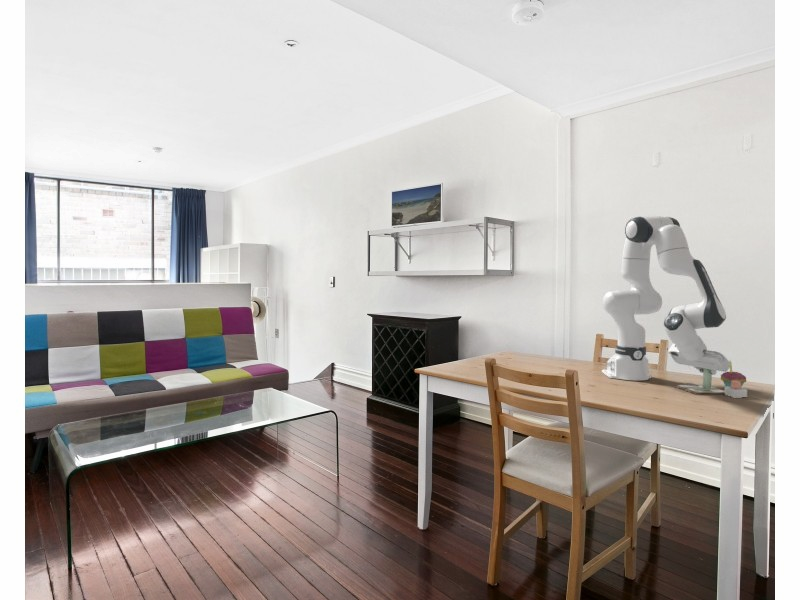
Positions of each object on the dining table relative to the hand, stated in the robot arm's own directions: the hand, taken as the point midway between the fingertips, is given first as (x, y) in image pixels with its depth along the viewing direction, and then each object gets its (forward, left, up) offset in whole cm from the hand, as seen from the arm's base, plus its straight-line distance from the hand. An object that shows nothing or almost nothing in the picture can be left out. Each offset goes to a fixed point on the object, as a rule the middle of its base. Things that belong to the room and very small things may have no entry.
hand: (708, 372), depth 188 cm
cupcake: (-5, +14, -8) cm, 17 cm away
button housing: (+6, +7, -8) cm, 12 cm away
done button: (+6, +7, -6) cm, 11 cm away
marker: (0, -1, -6) cm, 6 cm away
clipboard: (-4, 0, -8) cm, 9 cm away
